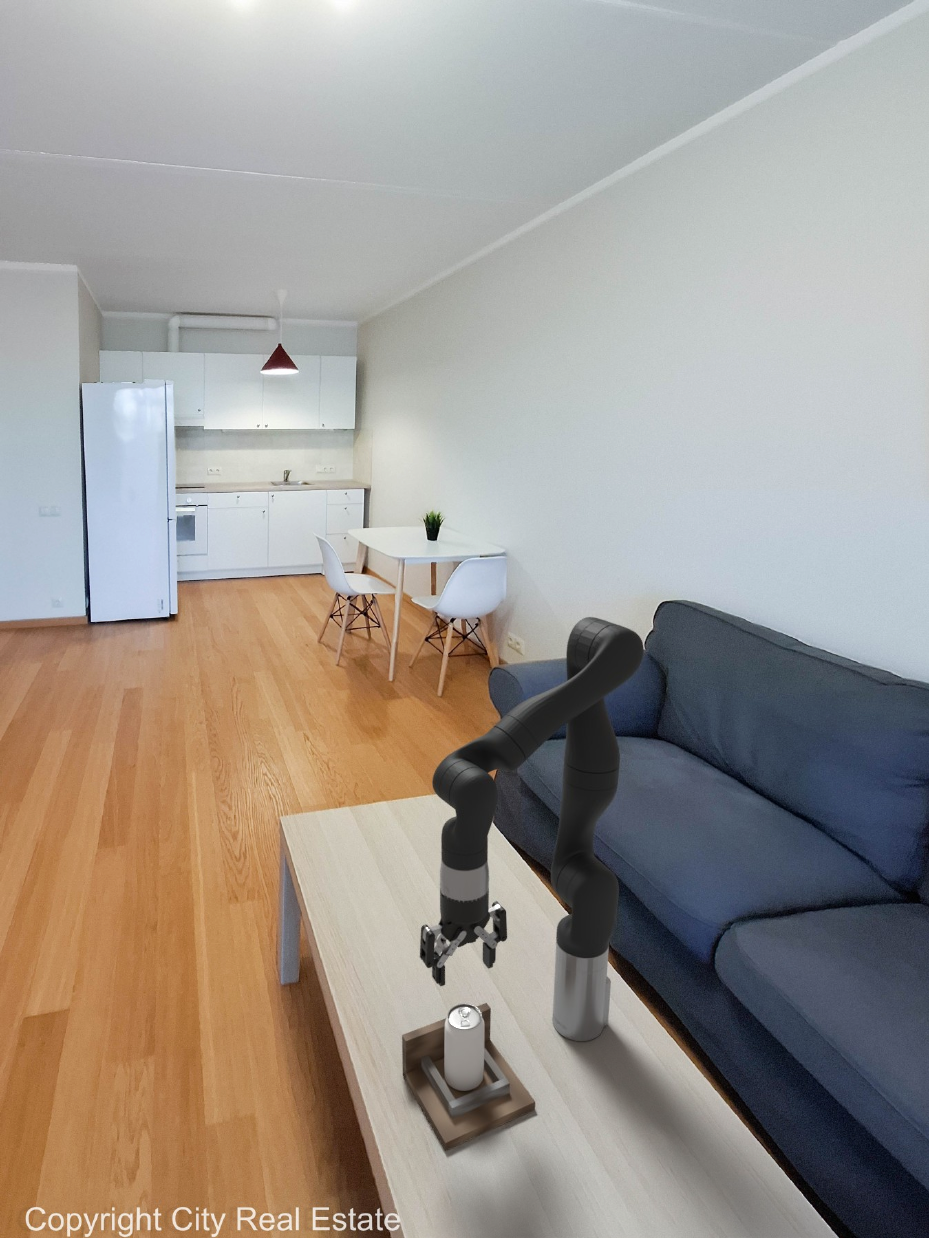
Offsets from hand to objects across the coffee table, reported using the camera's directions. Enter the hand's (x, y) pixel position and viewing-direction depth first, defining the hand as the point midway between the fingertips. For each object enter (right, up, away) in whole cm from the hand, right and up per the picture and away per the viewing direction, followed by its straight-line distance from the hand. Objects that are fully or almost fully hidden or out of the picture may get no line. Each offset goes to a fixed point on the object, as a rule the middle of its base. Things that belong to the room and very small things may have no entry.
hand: (464, 973), depth 127 cm
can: (0, -20, +5) cm, 20 cm away
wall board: (+1, -21, +4) cm, 22 cm away
